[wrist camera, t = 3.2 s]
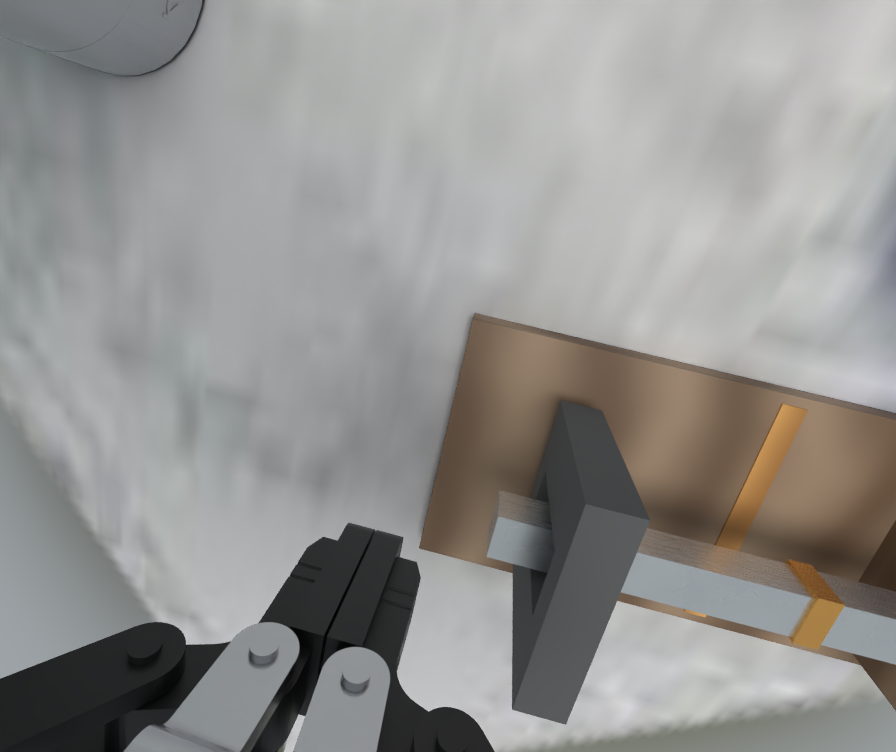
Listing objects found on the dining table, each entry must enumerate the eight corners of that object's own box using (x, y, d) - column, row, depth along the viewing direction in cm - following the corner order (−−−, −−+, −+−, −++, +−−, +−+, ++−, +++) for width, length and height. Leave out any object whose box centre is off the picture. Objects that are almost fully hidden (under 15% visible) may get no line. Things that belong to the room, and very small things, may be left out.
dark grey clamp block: (512, 552, 27) (512, 709, 18) (560, 400, 24) (585, 504, 15) (549, 561, 27) (566, 724, 18) (601, 410, 24) (650, 520, 15)
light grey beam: (488, 528, 23) (485, 562, 21) (500, 485, 22) (498, 515, 20) (939, 646, 22) (986, 694, 19) (968, 605, 21) (1020, 650, 19)
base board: (423, 532, 31) (388, 655, 22) (475, 313, 26) (455, 362, 18) (851, 645, 29) (988, 820, 21) (985, 434, 25) (1231, 551, 16)
